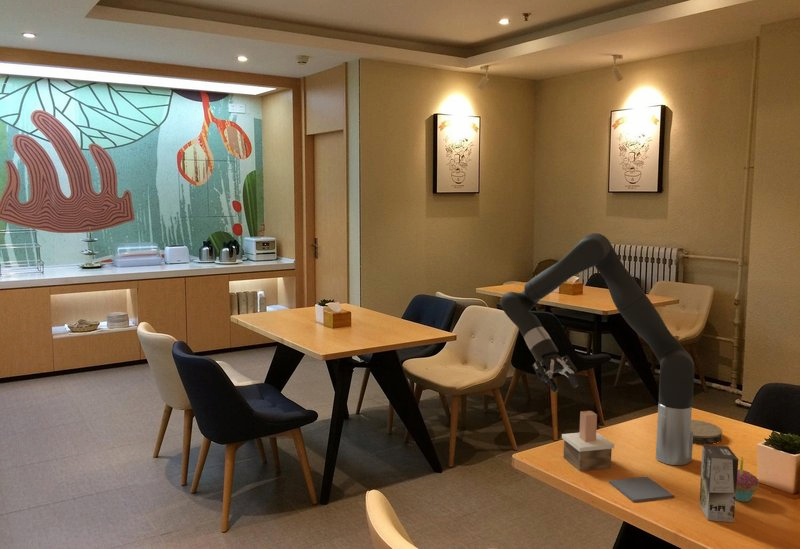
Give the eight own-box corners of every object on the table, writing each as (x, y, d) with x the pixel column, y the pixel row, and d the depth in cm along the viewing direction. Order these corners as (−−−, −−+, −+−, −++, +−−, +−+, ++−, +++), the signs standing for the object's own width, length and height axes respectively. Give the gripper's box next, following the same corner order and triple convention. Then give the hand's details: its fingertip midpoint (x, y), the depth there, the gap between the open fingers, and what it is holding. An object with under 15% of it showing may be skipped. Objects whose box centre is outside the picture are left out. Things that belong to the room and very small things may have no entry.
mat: (647, 478, 190) (647, 476, 190) (673, 497, 178) (674, 495, 178) (608, 482, 187) (608, 480, 187) (633, 502, 175) (633, 499, 175)
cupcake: (756, 507, 172) (759, 463, 171) (720, 499, 177) (723, 455, 175) (759, 495, 180) (762, 451, 178) (724, 487, 184) (727, 445, 183)
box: (593, 454, 207) (594, 435, 206) (610, 467, 197) (611, 447, 196) (563, 457, 204) (564, 438, 204) (579, 470, 195) (580, 450, 194)
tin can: (687, 424, 234) (688, 416, 234) (731, 438, 221) (732, 429, 220) (659, 433, 225) (659, 425, 225) (703, 449, 212) (703, 439, 212)
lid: (594, 438, 207) (595, 405, 205) (614, 452, 196) (615, 417, 195) (561, 441, 204) (562, 408, 203) (579, 455, 193) (580, 420, 192)
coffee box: (735, 523, 165) (739, 459, 163) (706, 520, 166) (710, 457, 164) (725, 505, 173) (729, 445, 171) (698, 503, 175) (702, 443, 173)
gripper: (530, 340, 207) (557, 386, 199) (563, 335, 215) (590, 378, 207) (517, 354, 212) (543, 398, 204) (550, 348, 220) (576, 391, 212)
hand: (566, 388), depth 205 cm, fingers open, 8 cm apart
